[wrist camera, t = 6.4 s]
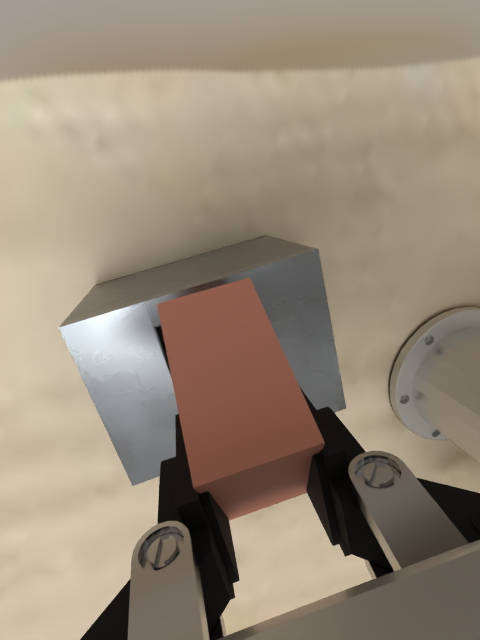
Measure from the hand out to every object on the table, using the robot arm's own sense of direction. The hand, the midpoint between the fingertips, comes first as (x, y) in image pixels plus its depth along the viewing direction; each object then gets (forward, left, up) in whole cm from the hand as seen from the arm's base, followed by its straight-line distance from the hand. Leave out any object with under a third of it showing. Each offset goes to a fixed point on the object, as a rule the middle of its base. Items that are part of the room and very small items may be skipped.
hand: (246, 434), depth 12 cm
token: (0, -3, -2) cm, 4 cm away
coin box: (0, 0, -15) cm, 15 cm away
